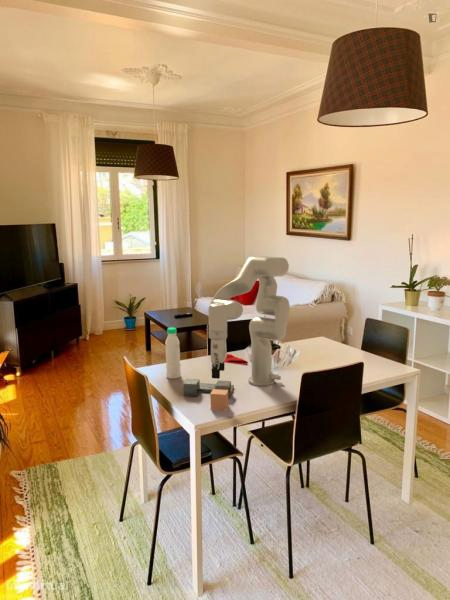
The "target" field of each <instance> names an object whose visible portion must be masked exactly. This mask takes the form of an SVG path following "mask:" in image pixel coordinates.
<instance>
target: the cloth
mask: <svg viewBox="0 0 450 600" xmlns="http://www.w3.org/2000/svg"><path fill="white" fill-rule="evenodd" d="M225 363H227V364H234V365H242V366H247V365H249V363H248V360H245V359H243V358H240V357H238V356H235V355H233V354H231V353H227V357H226V359H225V361H224V364H225Z"/></svg>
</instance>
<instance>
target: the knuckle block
mask: <svg viewBox="0 0 450 600" xmlns="http://www.w3.org/2000/svg"><path fill="white" fill-rule="evenodd" d="M209 396H210V410H213V411H227V410H228V407H229V399H228V390H218V389H213V390H212V392H211V393H210V395H209Z"/></svg>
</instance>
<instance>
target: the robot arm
mask: <svg viewBox="0 0 450 600" xmlns="http://www.w3.org/2000/svg"><path fill="white" fill-rule="evenodd" d="M289 265H290V264H289V262H288V260H287V259H286V258H285V257H280V256H279V257H278V256H275V257H274V256H251V257H250V256H249V257H248V258H247V259H246V260H245V262H244V263H243V265H242V266H241V268H240V270H239V272H238V273H237V275H236V276H235V278H234V279H233V280H231V281H229V282H228V283H226V284H225V285H223V286H222V287H220V288H219V289H218V290H217V291H216V292H215V294H214V296H213V298H212V299H211V301H210V303H209V306H208V339H210V362H211V378H212V379H219V380H220V378H221V372H224V371H225V362H224V361H225V359H226V357H227V354H228V353H227V338H228V321H230V320H237V319H239V318H240V317H241V316H242V315H243V312H244V307H243V306H242V304H241V302H238V301H235V300H230V299H232V298H234V297H237V296H241V295H244V294H247V293H249V292H251V291H252V290H253V287H254V286H255V284H256V282H257V281H258V282H259V283H258V284H259V287H258V292H257V298H256V305H255V309H256V312H257V313H258V314H261V315H266V316H272V317H274V318H270V317H265V316H263V317H262V316H257V317H256V316H255V317H254V318H252V319H250V321H249V325H248V329H249V335H250V340H251V341H250V342H251V343H250V346H251V347H250V348H251V376H250V377H248V379H247V380H248V383H249V384H251V385H252V386H258V387H267V386H272V385H273V384H274V383H275V381H277V380H279V381H280V380H282V376H281V375H280V374H277V373H276V374H275V373H274V372H273V371H272V343H271V340H274V341H281V340H283V338H285V335H286V332H287V327H288V320H289V315H290V310H291V309H290V307H291V306H290V301H289V299H288V298H287V297H285V296H282V295H277V292H278V291H277V290H278V284H277V281H276V279H275V278H276V277H283V276H285V275H286V274H287V273H288V272H289V268H290V267H289Z"/></svg>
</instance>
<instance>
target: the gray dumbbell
mask: <svg viewBox="0 0 450 600" xmlns="http://www.w3.org/2000/svg"><path fill="white" fill-rule="evenodd" d="M181 388H182V391H183V397H187V398H188V397H189V398H198V396H199V394H200V393H210V394H211V392H212V390H213V389H218V390H228V400H230V398H231V396H232V393H233V391H234V389H235V385H234V384H232V381H231V380H217V381H216V383H203V382H202V383H201V381H200V379H197V378H196V379H195V378H186V379H185V381H184V382H183V383H182V387H181Z"/></svg>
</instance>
